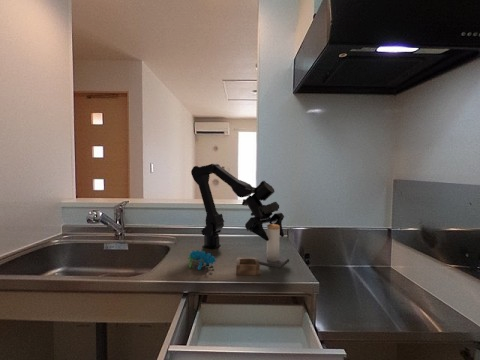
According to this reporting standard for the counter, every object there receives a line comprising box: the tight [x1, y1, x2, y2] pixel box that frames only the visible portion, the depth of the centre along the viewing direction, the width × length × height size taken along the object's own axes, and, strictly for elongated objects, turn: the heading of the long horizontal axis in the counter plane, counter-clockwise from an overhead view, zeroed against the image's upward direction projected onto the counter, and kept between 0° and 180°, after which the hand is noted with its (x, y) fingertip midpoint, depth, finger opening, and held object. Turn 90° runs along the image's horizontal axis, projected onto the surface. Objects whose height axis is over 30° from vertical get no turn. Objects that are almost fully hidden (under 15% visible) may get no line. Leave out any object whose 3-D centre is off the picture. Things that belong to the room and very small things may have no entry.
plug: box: [266, 223, 281, 262], centre depth 113 cm, size 5×5×14 cm
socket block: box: [235, 257, 260, 276], centre depth 103 cm, size 8×8×4 cm
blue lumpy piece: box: [187, 249, 217, 271], centre depth 105 cm, size 11×6×10 cm
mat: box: [258, 253, 290, 269], centre depth 113 cm, size 10×10×1 cm
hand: (275, 238), depth 111 cm, fingers open, 9 cm apart
